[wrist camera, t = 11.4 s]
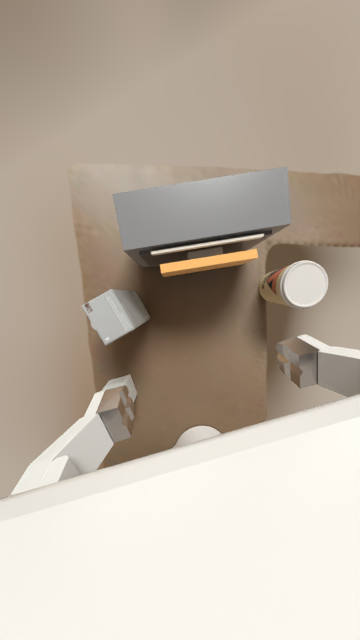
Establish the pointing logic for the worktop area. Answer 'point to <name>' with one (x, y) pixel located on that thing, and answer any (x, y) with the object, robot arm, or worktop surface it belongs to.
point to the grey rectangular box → (202, 216)
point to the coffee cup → (295, 285)
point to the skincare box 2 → (120, 382)
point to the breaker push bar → (207, 261)
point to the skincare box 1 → (115, 314)
